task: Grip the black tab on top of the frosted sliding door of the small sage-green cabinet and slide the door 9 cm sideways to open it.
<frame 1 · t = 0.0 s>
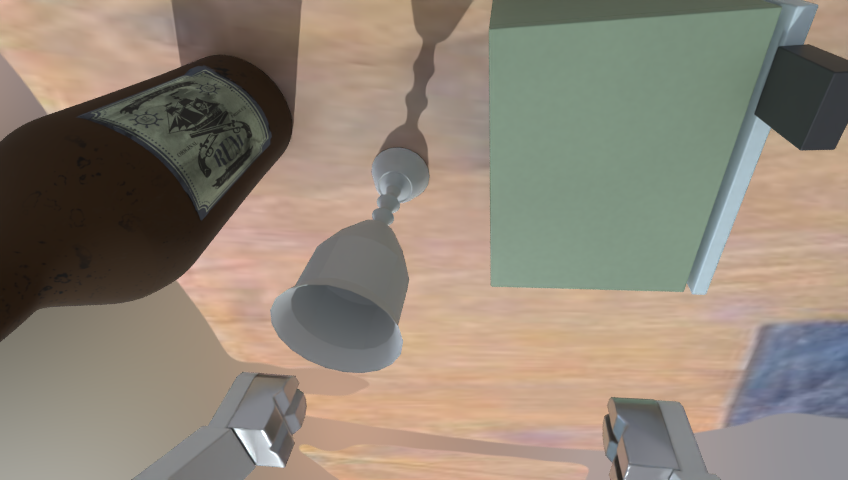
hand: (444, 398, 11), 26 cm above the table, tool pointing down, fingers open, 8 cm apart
chalice: (400, 173, 37), on the table
dark brown necked cylinder: (241, 112, 36), on the table
sliding door: (716, 153, 25), point 8 cm above the table, slide at 0.0 cm
cabinet: (575, 110, 32), on the table
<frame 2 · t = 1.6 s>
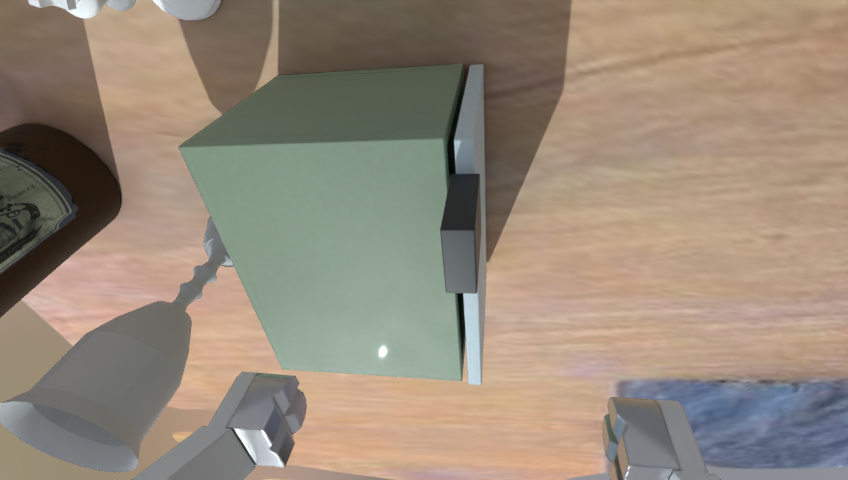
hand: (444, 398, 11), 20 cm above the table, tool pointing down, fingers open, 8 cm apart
chalice: (237, 235, 37), on the table
dark brown necked cylinder: (68, 176, 36), on the table
sliding door: (474, 248, 24), point 8 cm above the table, slide at 0.0 cm
cabinet: (385, 182, 31), on the table
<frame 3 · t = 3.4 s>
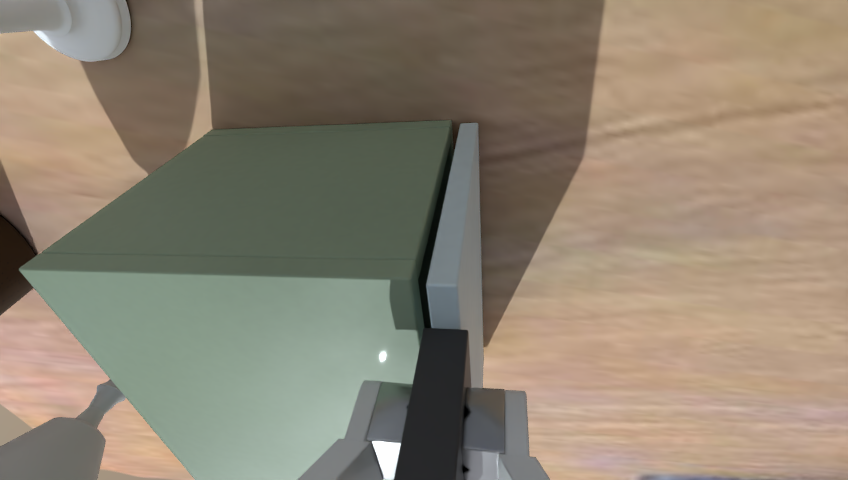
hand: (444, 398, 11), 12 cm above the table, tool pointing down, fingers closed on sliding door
chalice: (182, 307, 30), on the table
sliding door: (464, 376, 18), point 8 cm above the table, slide at 0.0 cm, touching gripper
cabinet: (357, 257, 25), on the table
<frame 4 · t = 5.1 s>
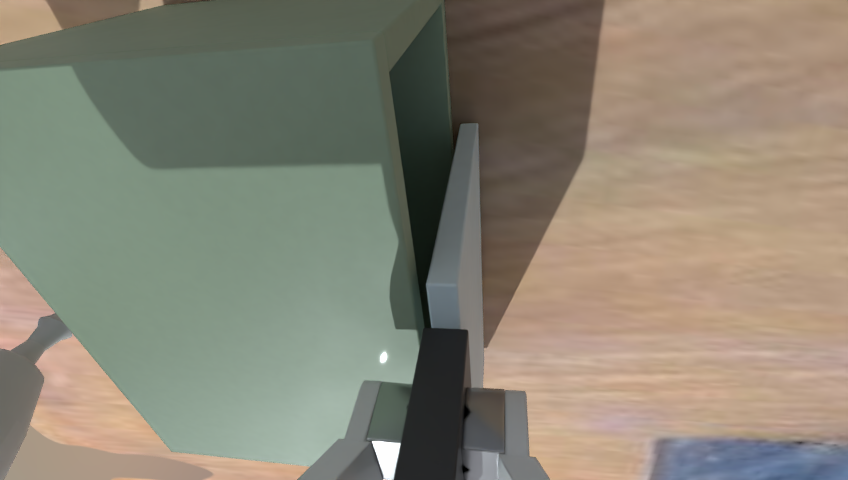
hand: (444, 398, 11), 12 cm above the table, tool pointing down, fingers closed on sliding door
chalice: (145, 246, 27), on the table
sliding door: (464, 376, 18), point 8 cm above the table, slide at 5.5 cm, touching gripper
cabinet: (337, 172, 22), on the table
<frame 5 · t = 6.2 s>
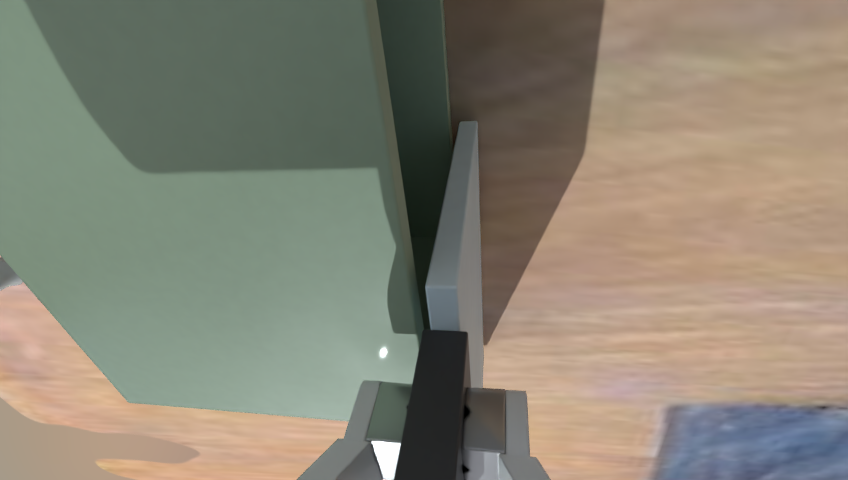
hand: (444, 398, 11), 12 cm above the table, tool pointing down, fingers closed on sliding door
chalice: (113, 194, 25), on the table
sliding door: (464, 375, 18), point 8 cm above the table, slide at 9.2 cm, touching gripper
cabinet: (317, 97, 19), on the table
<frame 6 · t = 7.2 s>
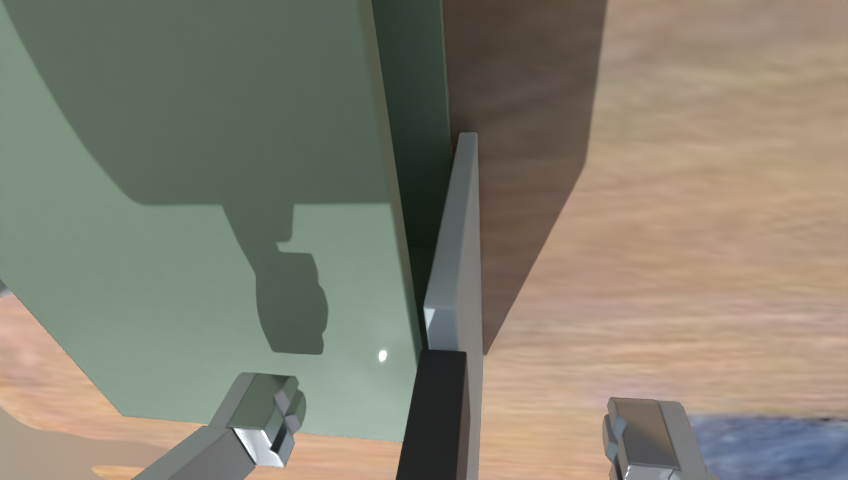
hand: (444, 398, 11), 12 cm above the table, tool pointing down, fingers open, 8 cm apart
sliding door: (463, 390, 17), point 8 cm above the table, slide at 9.3 cm
cabinet: (316, 106, 19), on the table
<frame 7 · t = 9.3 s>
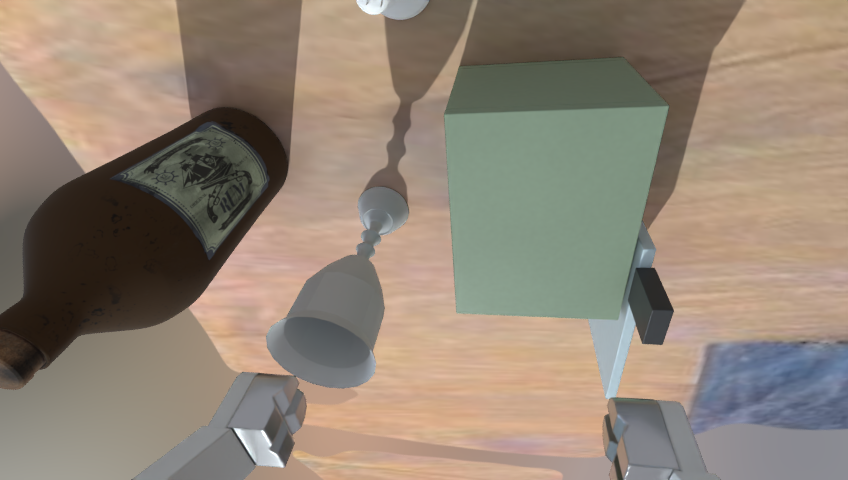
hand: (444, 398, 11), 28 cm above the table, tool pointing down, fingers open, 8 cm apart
chalice: (383, 208, 42), on the table
dark brown necked cylinder: (242, 154, 41), on the table
sliding door: (617, 304, 35), point 8 cm above the table, slide at 9.3 cm
cabinet: (532, 159, 37), on the table
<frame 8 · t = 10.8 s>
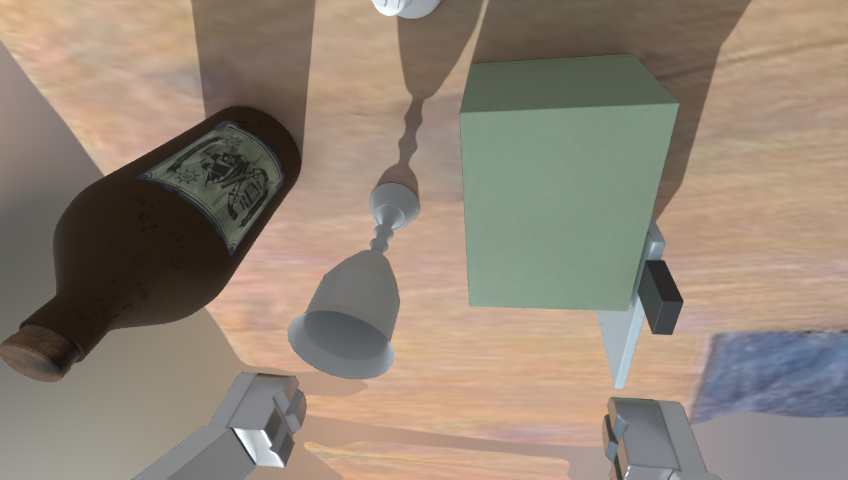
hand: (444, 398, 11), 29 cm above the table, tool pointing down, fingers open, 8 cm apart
chalice: (394, 203, 43), on the table
dark brown necked cylinder: (256, 152, 42), on the table
sliding door: (626, 295, 36), point 8 cm above the table, slide at 9.3 cm
cabinet: (542, 154, 38), on the table
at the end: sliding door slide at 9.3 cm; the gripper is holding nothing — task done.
